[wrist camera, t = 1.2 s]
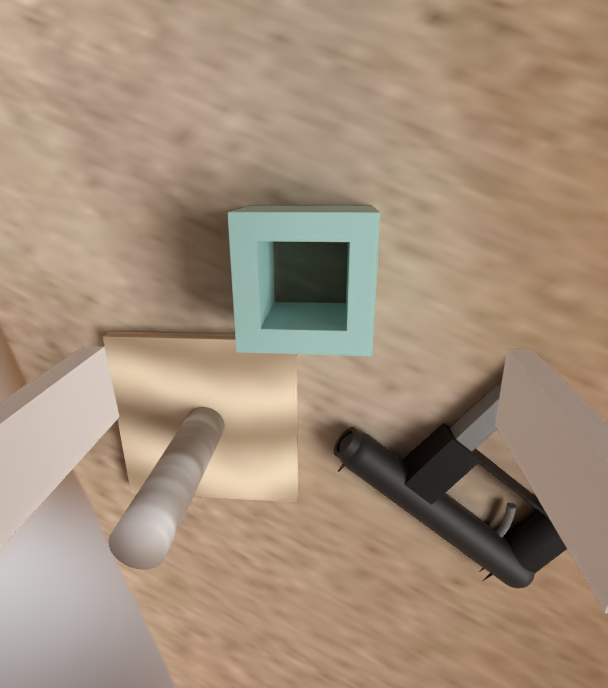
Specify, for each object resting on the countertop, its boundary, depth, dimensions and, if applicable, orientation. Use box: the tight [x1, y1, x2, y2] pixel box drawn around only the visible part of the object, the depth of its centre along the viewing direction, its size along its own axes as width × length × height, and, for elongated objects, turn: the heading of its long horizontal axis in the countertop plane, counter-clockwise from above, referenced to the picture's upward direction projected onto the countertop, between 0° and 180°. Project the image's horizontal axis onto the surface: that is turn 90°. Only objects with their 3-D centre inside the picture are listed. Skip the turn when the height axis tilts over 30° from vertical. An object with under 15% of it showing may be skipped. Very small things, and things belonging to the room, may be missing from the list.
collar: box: [228, 206, 380, 356], centre depth 27 cm, size 8×8×6 cm
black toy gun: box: [334, 381, 567, 588], centre depth 33 cm, size 3×20×16 cm
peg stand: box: [103, 331, 298, 569], centre depth 28 cm, size 14×14×13 cm
